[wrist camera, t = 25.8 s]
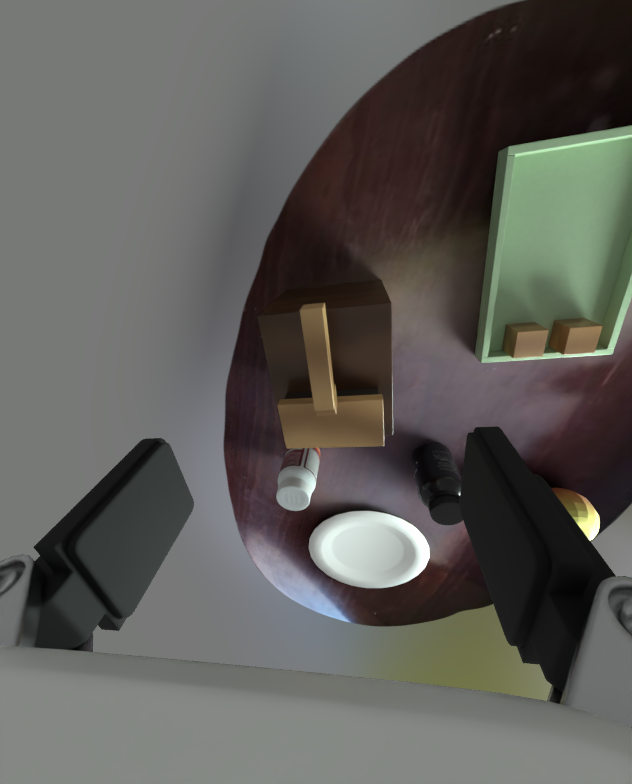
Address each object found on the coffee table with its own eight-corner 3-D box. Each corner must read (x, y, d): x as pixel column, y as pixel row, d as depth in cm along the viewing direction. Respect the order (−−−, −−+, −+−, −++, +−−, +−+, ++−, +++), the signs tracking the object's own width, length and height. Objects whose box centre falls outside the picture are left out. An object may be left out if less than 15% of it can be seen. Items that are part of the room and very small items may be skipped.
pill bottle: (283, 457, 57) (267, 505, 47) (293, 432, 54) (278, 478, 44) (314, 468, 58) (305, 518, 48) (326, 444, 55) (318, 492, 45)
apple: (530, 525, 58) (554, 566, 51) (506, 493, 55) (528, 532, 48) (588, 504, 54) (622, 546, 47) (565, 469, 51) (598, 508, 44)
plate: (448, 522, 60) (450, 530, 58) (404, 591, 72) (405, 599, 71) (322, 492, 60) (321, 498, 59) (300, 566, 72) (298, 573, 71)
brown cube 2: (553, 320, 40) (570, 327, 37) (584, 317, 40) (603, 325, 36) (548, 345, 42) (563, 355, 39) (577, 343, 41) (594, 353, 38)
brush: (382, 428, 35) (387, 467, 30) (291, 431, 37) (279, 468, 31) (377, 286, 28) (382, 301, 22) (265, 298, 30) (244, 315, 24)
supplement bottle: (402, 454, 54) (412, 510, 43) (436, 434, 51) (456, 488, 40) (425, 478, 56) (441, 536, 45) (460, 459, 53) (485, 517, 42)
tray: (498, 151, 33) (508, 146, 31) (667, 123, 31) (692, 114, 29) (474, 356, 44) (480, 363, 42) (598, 347, 42) (612, 354, 39)
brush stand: (285, 290, 43) (257, 316, 31) (381, 279, 41) (391, 302, 29) (301, 386, 50) (283, 438, 38) (384, 381, 48) (393, 435, 35)
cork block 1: (505, 324, 41) (517, 332, 38) (534, 321, 40) (549, 329, 37) (501, 349, 43) (512, 358, 40) (529, 347, 42) (543, 356, 39)
